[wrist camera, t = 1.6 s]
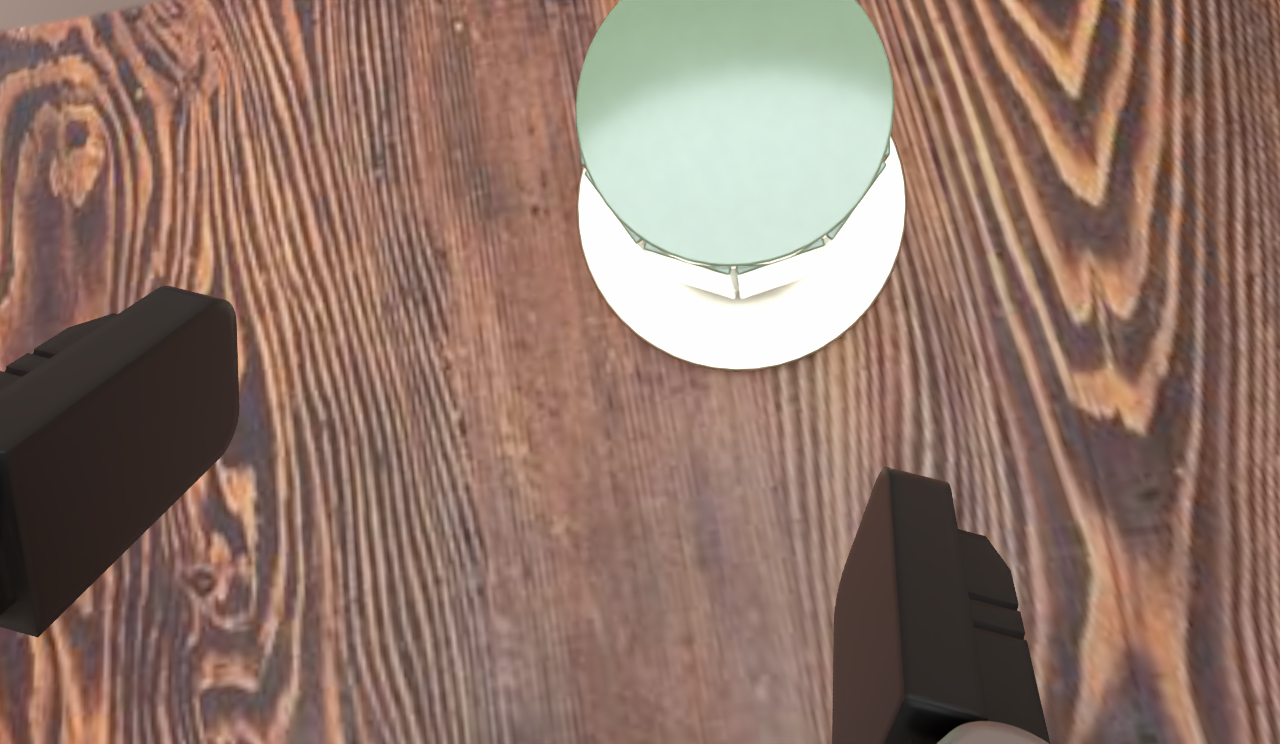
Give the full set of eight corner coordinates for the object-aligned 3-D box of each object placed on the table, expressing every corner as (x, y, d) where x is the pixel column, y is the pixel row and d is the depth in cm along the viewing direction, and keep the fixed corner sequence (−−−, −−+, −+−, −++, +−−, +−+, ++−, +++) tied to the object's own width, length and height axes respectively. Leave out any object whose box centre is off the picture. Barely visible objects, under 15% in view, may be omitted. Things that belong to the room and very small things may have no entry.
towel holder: (773, -11, 34) (789, -264, 20) (966, 243, 33) (1121, 162, 20) (522, 183, 35) (374, 69, 21) (705, 433, 35) (676, 484, 21)
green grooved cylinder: (758, 26, 29) (762, -124, 20) (896, 208, 28) (964, 140, 19) (583, 162, 29) (510, 75, 20) (716, 341, 29) (701, 334, 20)
